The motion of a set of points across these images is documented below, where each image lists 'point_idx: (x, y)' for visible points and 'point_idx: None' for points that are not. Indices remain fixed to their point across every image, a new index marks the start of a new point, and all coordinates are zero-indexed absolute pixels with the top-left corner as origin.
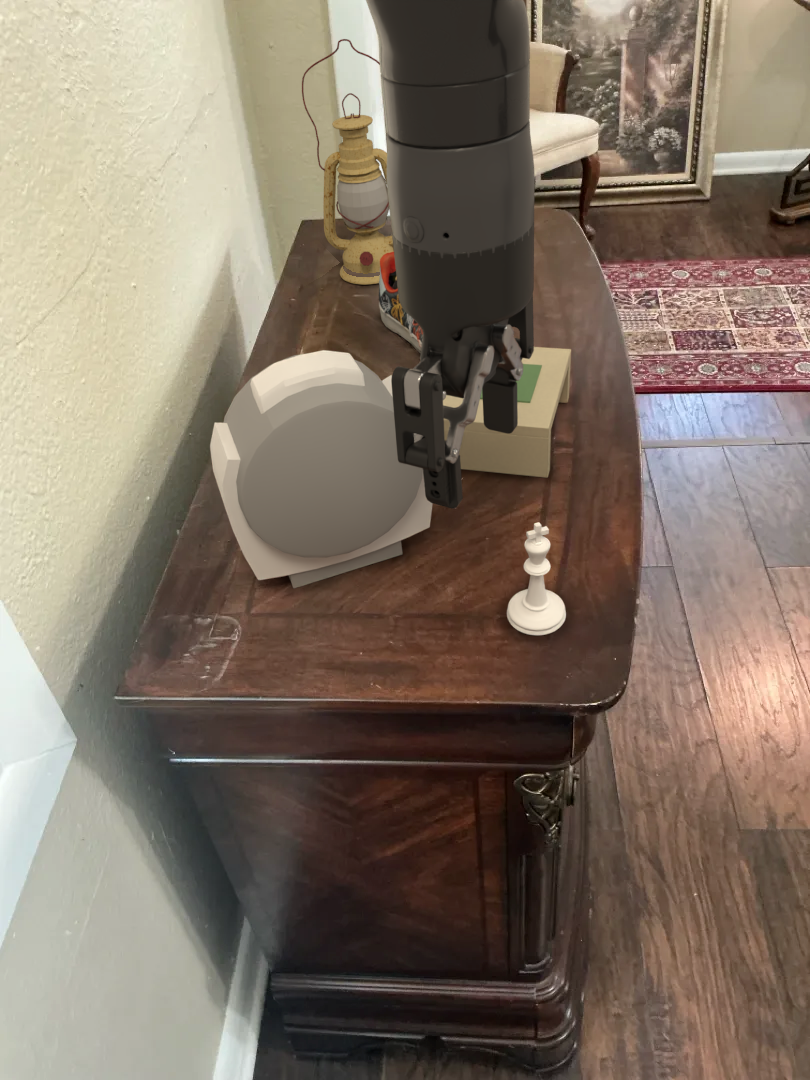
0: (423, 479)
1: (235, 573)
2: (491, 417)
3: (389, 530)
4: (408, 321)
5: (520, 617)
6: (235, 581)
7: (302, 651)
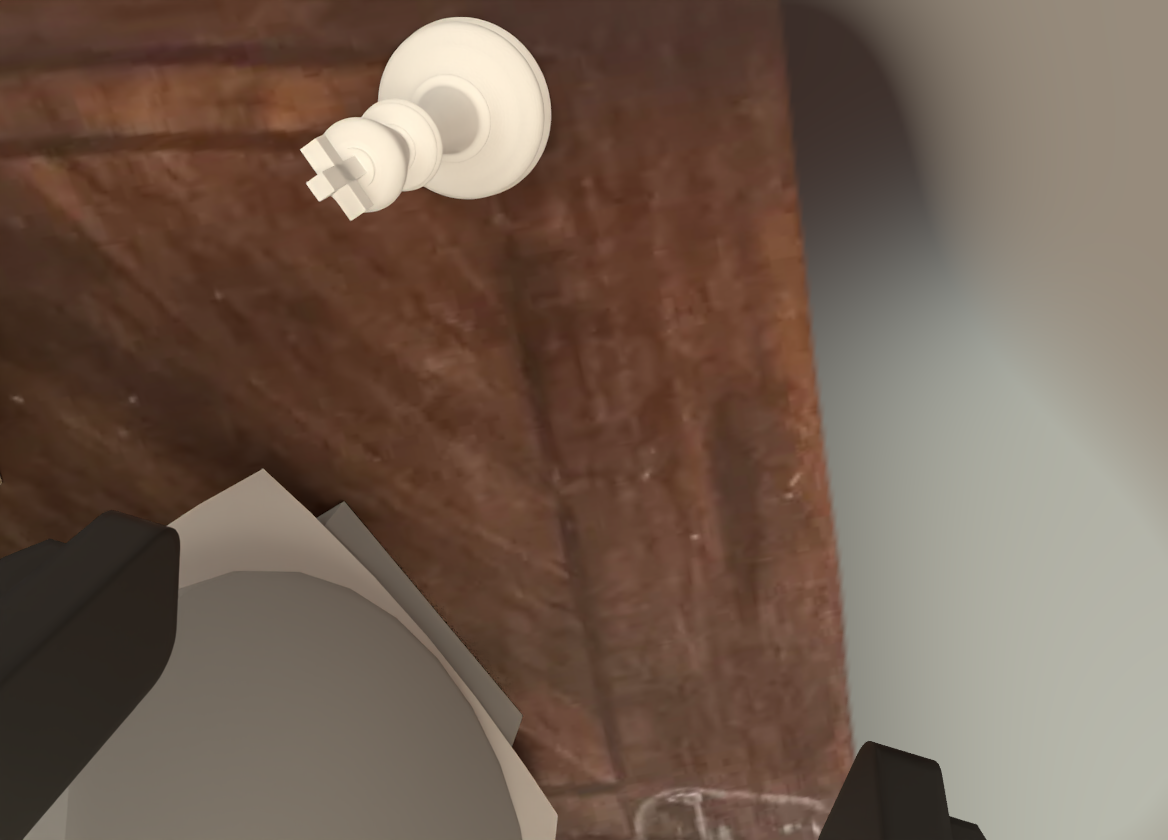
0: None
1: None
2: (126, 678)
3: (325, 575)
4: None
5: (511, 156)
6: None
7: (711, 661)
